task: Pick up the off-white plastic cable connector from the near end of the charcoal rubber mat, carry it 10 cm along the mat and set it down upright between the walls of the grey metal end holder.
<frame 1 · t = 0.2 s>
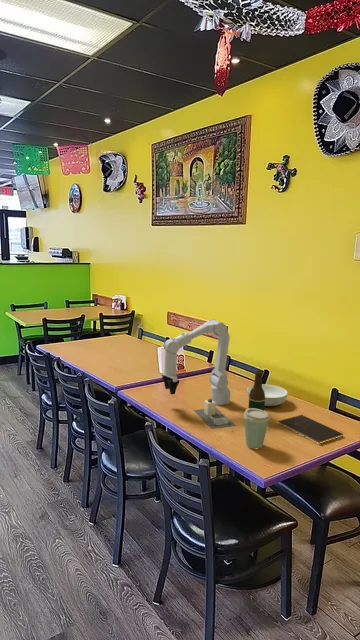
hand: (170, 391, 204), 10 cm above the table, tool pointing down, fingers open, 7 cm apart
end holder: (218, 423, 192), resting on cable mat
beer bottle: (255, 420, 198), on the table
hardcover book: (309, 432, 188), on the table
disposable coffee cup: (254, 446, 172), on the table
connector: (209, 413, 201), point 1 cm above the table, touching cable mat
serving bowl: (266, 403, 220), on the table
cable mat: (213, 419, 197), on the table
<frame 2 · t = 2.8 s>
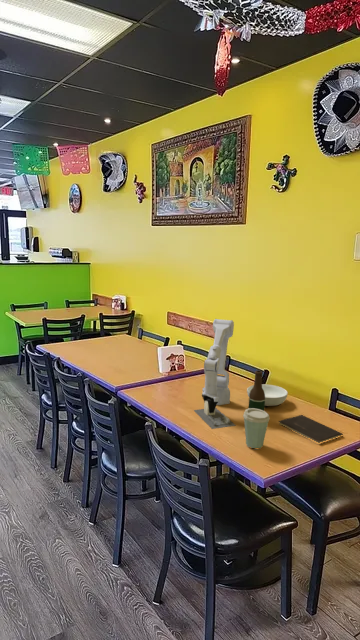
hand: (209, 410, 201), 2 cm above the table, tool pointing down, fingers closed on connector, 4 cm apart
connector: (209, 413, 201), point 1 cm above the table, touching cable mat, gripper
everything else where it was.
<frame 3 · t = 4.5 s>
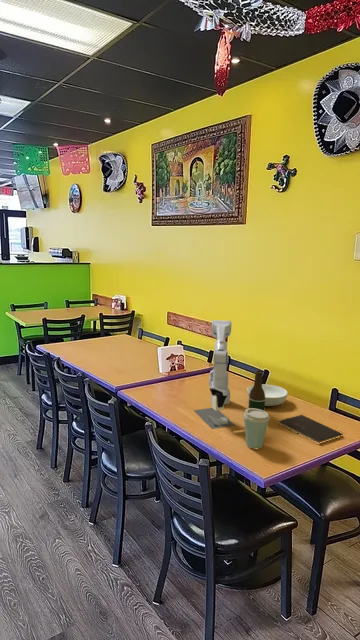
hand: (218, 405, 191), 9 cm above the table, tool pointing down, fingers closed on connector, 4 cm apart
connector: (217, 408, 192), point 7 cm above the table, touching gripper
everything else where it was.
when the fingers open (4 cm above the table, at t = 6.3 s): connector drops 1 cm, resting on end holder.
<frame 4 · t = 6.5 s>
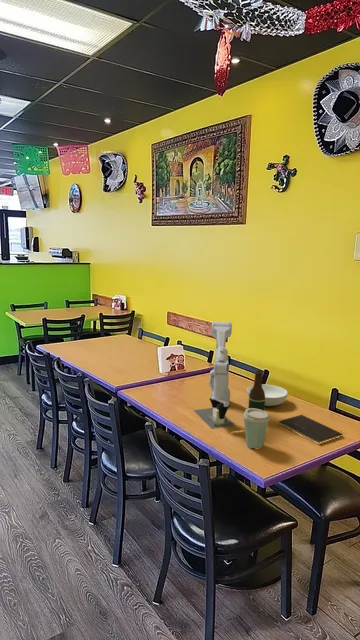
hand: (218, 415, 191), 4 cm above the table, tool pointing down, fingers open, 6 cm apart
connector: (218, 421, 192), point 1 cm above the table, touching end holder
everything else where it was.
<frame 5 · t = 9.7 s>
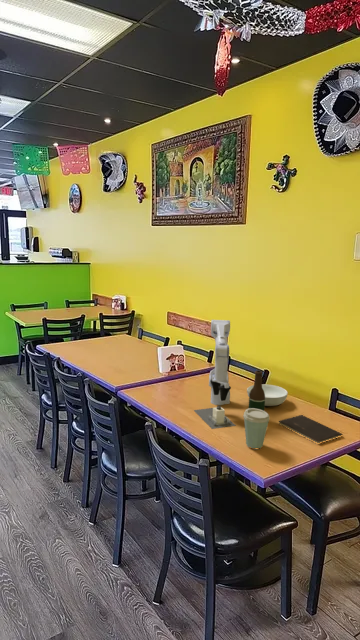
hand: (219, 397, 199), 9 cm above the table, tool pointing down, fingers open, 7 cm apart
nothing on the table moved.
at the end: connector 0.2 cm off-centre on the end holder, point 1.3 cm above the end holder's base; connector tilted 0°; the gripper is holding nothing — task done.
